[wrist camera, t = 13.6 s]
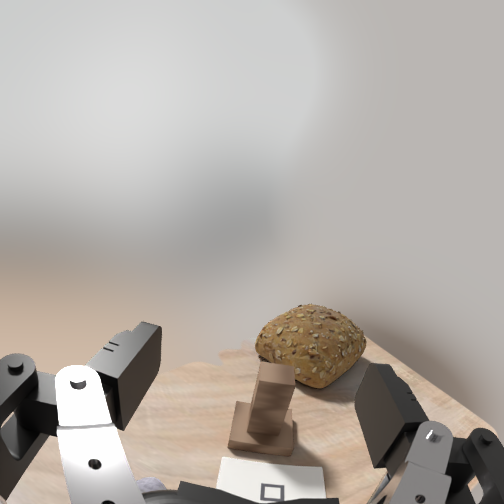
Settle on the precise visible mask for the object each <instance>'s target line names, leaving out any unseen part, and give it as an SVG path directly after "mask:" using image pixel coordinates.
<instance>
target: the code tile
mask: <svg viewBox="0 0 504 504" xmlns="http://www.w3.org/2000/svg"><path fill="white" fill-rule="evenodd" d="M216 489H220V490H223V491H226V492H228V493H231V494H234V495H237V496H239V497H242V498H245V499H248V500H251V501H254V502H258V503H272V502H280V501H287V500H294V499H300V498H326V493H325V485H324V477H323V469H322V467H310V466H293V465H280V464H270V463H262V462H254V461H247V460H240V459H234V458H228V457H223V456H222V461H221V466H220V471H219V476H218V480H217V485H216Z"/></svg>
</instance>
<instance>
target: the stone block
mask: <svg viewBox="0 0 504 504" xmlns="http://www.w3.org/2000/svg"><path fill="white" fill-rule="evenodd" d="M136 483H137V485H138V487H139V489H140V492H141V493H143V492H149V491H155V490H167V489H166V488H165V486H164V484H163V483H162V482H161V481H160V480H159V479H157V478H155V477H147V478H142V479H141V480H137V481H136Z"/></svg>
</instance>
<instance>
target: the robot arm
mask: <svg viewBox="0 0 504 504" xmlns="http://www.w3.org/2000/svg"><path fill="white" fill-rule="evenodd" d="M161 338H162V328H161V327H160V326H157V325H154V324H150V323H146V322H141V323H140V324H139V325H138V326H137V327H136V328H135V329H134V330H133V331H132V332H131V331H128V330H126V331H124V332H121V333H119V334H116V335H115V336H114V337H113V338H112V339H111V340H110V341H109V343H107V344H106V345H105V346H104V347H103V349H101V350H100V351H99V352H98V353H97V354H96V355H95V356H94V357H93V358H92V359H91V360H90V361H89V362H88V363H87V364H86V365H85V366H84V367H82V366H72V367H67V368H65V369H63V370H61V371H60V372H59V373H58V374H57V375H53V374H48V373H43V372H39V371H36V366H35V363H34V361H33V359H32V358H30V357H29V356H27V355H24V354H10V355H7V356H5V357H3V358H2V359H1V360H0V504H7V503H6V500H7V498H8V497H9V495H10V494H11V492H12V490H13V489H14V487H15V486H16V484H17V483H18V481H19V480H20V478H21V477H22V475H23V473H24V472H25V470H26V469H27V467H28V466H29V464H30V463H31V462H32V460H33V459H34V457H35V456H36V454H37V453H38V451H39V450H40V448H41V447H42V445H43V444H44V443H45V441H46V440H47V438H48V437H49V436H50V435H51V436H56V437H58V442H59V449H60V455H61V460H62V465H63V471H64V475H65V480H66V484H67V488H68V492H69V496H70V500H71V504H339V498H300V499H294V500H287V501H280V502H272V503H258V502H254V501H251V500H248V499H245V498H242V497H239V496H237V495H234V494H231V493H228V492H226V491H223V490H220V489H215V488H210V487H205V486H200V485H196V484H192V483H188V482H183V481H180V485H179V488H178V490H155V491H149V492H143V493H141V492H140V489H139V487H138V485H137V483H136V480H135V478H134V476H133V473H132V471H131V468H130V466H129V464H128V461H127V458H126V456H125V453H124V451H123V448H122V445H121V442H120V439H119V437H118V434H117V431H116V428H117V429H120V430H122V431H124V430H125V428H126V426H127V425H128V423H129V421H130V419H131V418H132V416H133V414H134V413H135V411H136V409H137V408H138V406H139V404H140V403H141V401H142V399H143V397H144V396H145V394H146V392H147V391H148V389H149V387H150V386H151V384H152V382H153V381H154V379H155V377H156V376H157V374H158V371H159V367H160V361H161V340H162V339H161ZM412 393H413V392H412V391H411V389H410V387H409V386H408V384H407V383H406V382H404V381H403V380H402V379H401V378H400V377H397V375H396V374H395V372H394V370H393V369H392V367H391V366H390V365H389V364H377V363H371V364H370V365H369V367H368V369H367V371H366V373H365V376H364V378H363V380H362V383H361V385H360V387H359V389H358V392H357V394H356V397H355V410H356V413H357V416H358V419H359V422H360V425H361V429H362V432H363V435H364V438H365V441H366V444H367V448H368V451H369V454H370V457H371V461H372V464H373V467H374V468H387V472H386V473H385V475H384V476H383V477H382V479H381V481H380V483H379V484H378V486H377V488H376V489H375V491H374V493H373V494H372V496H371V498H370V499H369V501H368V502H367V504H475V501H474V499H473V496H472V494H471V492H470V489H469V487H468V485H467V484H468V483H469V482H470V481H471V480H472V479H473V478H474V477H475V476H476V477H477V479H478V481H479V483H480V485H481V487H482V489H483V497H482V500H481V502H480V503H479V504H504V447H503V446H502V444H501V442H500V441H499V439H498V438H497V436H496V435H495V434H494V433H493V432H491V431H490V430H488V429H485V428H476V429H474V430H473V431H472V432H471V434H470V435H469V437H468V438H467V439H465V438H456V437H453V435H452V433H451V431H450V430H449V429H448V428H447V427H446V426H445V425H443V424H441V423H439V422H436V421H429V419H428V417H427V416H426V414H425V412H424V410H423V409H422V407H421V405H420V404H419V402H418V401H416V397H415V396H414V394H412ZM12 412H14V414H13V415H12V417H11V418H10V419H9V420H8V421H7V422H6V423H5V425H4V426H3V427H2V428H1V426H2V423H3V422H4V421H5V420H6V418H7V417H8V416H9V415H10V414H11V413H12Z"/></svg>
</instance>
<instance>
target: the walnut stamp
mask: <svg viewBox="0 0 504 504" xmlns="http://www.w3.org/2000/svg"><path fill="white" fill-rule="evenodd" d="M294 389H295V375H294V366H289V365H282V364H275V363H269V362H263V361H261V363H260V367H259V372H258V376H257V381H256V385H255V389H254V394H253V398H252V402H251V403H245V402H239V401H237V402H236V407H235V412H234V417H233V422H232V427H231V433H230V438H229V443H228V448H231V449H237V450H243V451H250V452H257V453H264V454H273V455H282V456H291V454H292V451H293V449H294V442H293V423H292V409H288V407H289V404H290V401H291V398H292V395H293V392H294Z"/></svg>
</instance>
